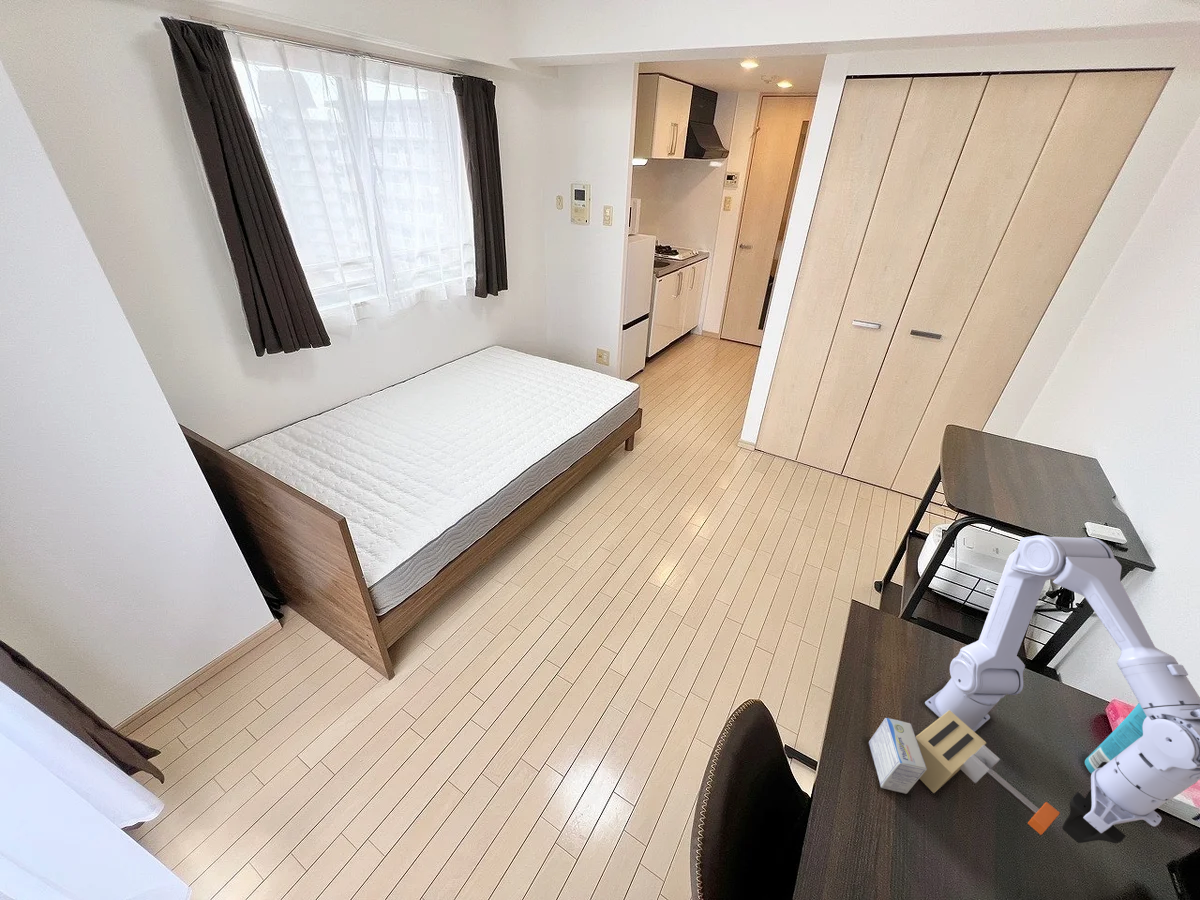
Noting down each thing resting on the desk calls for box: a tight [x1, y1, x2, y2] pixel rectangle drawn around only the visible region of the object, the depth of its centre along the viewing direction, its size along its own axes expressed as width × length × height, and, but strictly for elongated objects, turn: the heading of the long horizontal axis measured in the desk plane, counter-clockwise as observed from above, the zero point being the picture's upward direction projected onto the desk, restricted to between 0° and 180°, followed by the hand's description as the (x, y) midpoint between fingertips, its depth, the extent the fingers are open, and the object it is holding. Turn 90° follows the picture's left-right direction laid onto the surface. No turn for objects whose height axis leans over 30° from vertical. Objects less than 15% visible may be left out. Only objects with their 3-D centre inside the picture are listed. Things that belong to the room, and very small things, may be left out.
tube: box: [1084, 702, 1147, 775], centre depth 83 cm, size 7×5×19 cm, turn 20°
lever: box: [978, 757, 1061, 836], centre depth 77 cm, size 5×10×2 cm, turn 29°
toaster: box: [915, 710, 1001, 794], centre depth 84 cm, size 11×9×10 cm
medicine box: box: [868, 717, 927, 795], centre depth 83 cm, size 8×4×9 cm, turn 168°
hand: (1082, 820), depth 72 cm, fingers open, 7 cm apart
